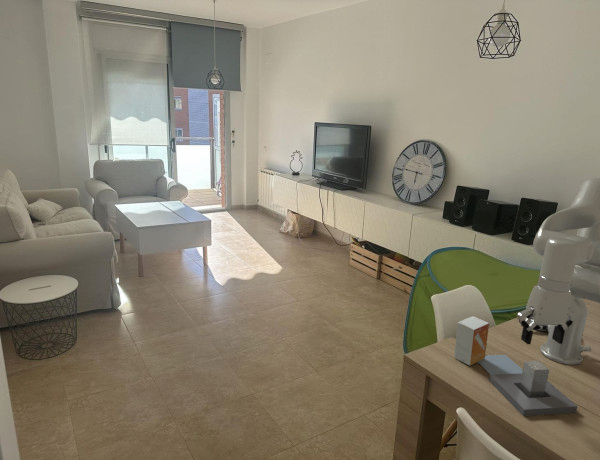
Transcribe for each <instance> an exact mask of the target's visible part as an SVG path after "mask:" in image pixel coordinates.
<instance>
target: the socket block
mask: <svg viewBox="0 0 600 460" xmlns="http://www.w3.org/2000/svg"><path fill="white" fill-rule="evenodd" d="M521 376H522V373H517V374H497V375H490V374H489V379H488V381H489V382H490V383H491V384H492V385H493V386H494V387H495V389H497V391H498V392H499V393H500V394H501V395H502V396H503V397H504V398H505V400H506V401H508V402H509V403H510V404H511V405H512V407H514V408H515V409H516V411H517V412H518V413H520V415H521V416H522V417H528V416H543V415H559V414H570V413H571V414H572V413H573V414H575V413H577V410H578V405H577V404H575V403H574V402H573V401H572V400H571V399H570V398H568V397H567V396H566V395H565V394H564V393H563V392H562V391H560V390H559V389H558V388H557V387H556V386H555V385H553V384H552V383H551V382H550V381H549V380H547V383H546V388H545V392H544V397H539V398H528V397H527V396H526V395H525V394H524V393H523V392H522V391H521V390H520V389H519V386H520V381H521Z"/></svg>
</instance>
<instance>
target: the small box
mask: <svg viewBox="0 0 600 460" xmlns="http://www.w3.org/2000/svg"><path fill="white" fill-rule="evenodd" d="M456 326H457V327H456V335H455V346H454V347H455V348H454V354H453V355H454V358H455V359H456V360H458V361H460V362H461V363H464V364H466V365H468V366H472V365H474V364H477V363H478V361H480V360H482V359H484V358H485V356H486V353H487V351H486V350H487V345H488V343H487V342H488V335H489V327H490V323H489V322H488V321H485V320H483V319H480V318H478V317H476V316H473V315H472V316H470V317H467V318H464V319H462V320H460V321H458V322H457V324H456Z"/></svg>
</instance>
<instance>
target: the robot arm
mask: <svg viewBox="0 0 600 460" xmlns="http://www.w3.org/2000/svg"><path fill="white" fill-rule="evenodd" d="M572 230H577V233H576V235H575V234H571V233H565V232H564V231H572ZM532 245H533V246H532V247H533V251H534V252H535V254H537V255H539V256H541V257H543V258H542V262H541V266H540V267H541V268H540V272H539V276H538V282H537V285H534V286H533V288H532V290H531V292H530V295H529V297H528V300H527V302H526V307H525V309H523V310H521V311H519V312H518V313H516V315H517V319H518V322H519V324H520V325H521V327H522V332H521V337H520V339H521V341H523V342H524V343H525V344H526V345H531V344H532V339H533V335H534V331H533V330H532V329H533V328H534V327H535V326H536V325H550V330H549V332H548V334H547V340H546V342H544V343H541V345H540V346H539V348H540V349H539V350H540V352H541V354H543V356H545V357H546V358H548V359H550V360H551V361H555V362H556V363H560V364H565V365H573V366H574V365H575V366H576V365H580V364H581V363H582V362H583V359H584V358H583V356H582V353H584V352H591V351H592V347H591V346H590V345H583V344H582V340H583V335H584V330H585V327H586V322H587V319H588V316H589V315H588V313H589V311H588V310H589V309H588V307H587V305H586V302H585V300H587V301H591V302H594V303H595V302H596V303H597V304H600V271H598V270H597V271H596V270H593V269H590V268H589V269H588V268H586V267H580V266H576V265H585V266H589V267H593V268H597V269H600V177H592V178H588V179H587V180H585V181H584V182H582V183H581V184H580V185H579V187H578V189H577V193H576V195H575V197H574V199H573V200H572V203H571V205H570V207H567V208H564V209H561V210H559V211H556V212H555V213H552V214H551V215H549V216H547V217H546V219H544V221H543V222H542V224H541V225H540V227H539V229H538V231H537V232H536V233H535V237H534V239H533V243H532ZM533 319H534V320H533ZM530 322H532V323H531V324H530V325H529V323H530Z"/></svg>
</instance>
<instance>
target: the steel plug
mask: <svg viewBox="0 0 600 460" xmlns="http://www.w3.org/2000/svg"><path fill="white" fill-rule="evenodd" d="M522 370H523V371H522V376H521V381H520V386H519V389H520V390H521V391H522V392H523V393H524V394H525V395H526V396H527V397H528V398H539V397H544V392H545V388H546V383H547V381H548V378H549V373H550V371H551V370H550V368H549V367H547V366H546V365H545V364H543V362H541V361H540V360H524V363H523V367H522Z"/></svg>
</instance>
